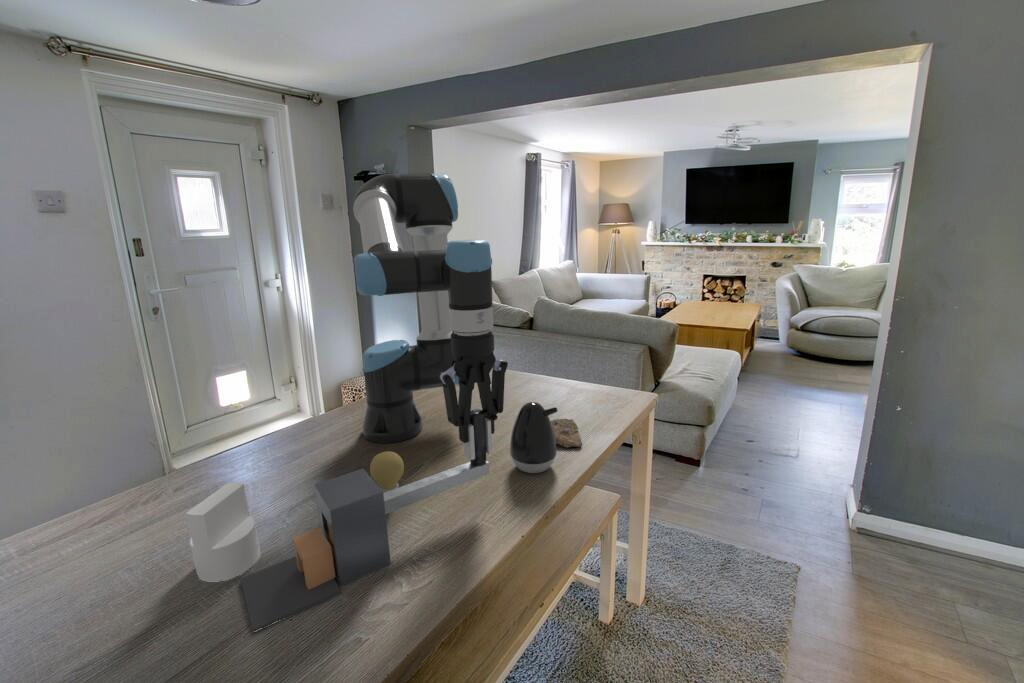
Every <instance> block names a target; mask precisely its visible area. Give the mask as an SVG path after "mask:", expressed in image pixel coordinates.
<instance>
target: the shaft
mask: <svg viewBox="0 0 1024 683" xmlns="http://www.w3.org/2000/svg"><path fill="white" fill-rule="evenodd" d="M470 424H471V425H473V426H474V445H475V459H473V460H471V459H470V458H469V462H465V463H463V464H461V465H457V466H454V467H452V468H449V469H447V470H444V471H441V472H437V473H435V474H433V475H430V476H427V477H424V478H422V479H419V480H416V481H414V482H409V483H408V484H404V485H402V486H399V488H396V489H393V490H391V491H388V492H385V493H383V495H384V504H385V514H386V515H387V514H390V513H392V512H394V511H398V510H400V509H402V508H405V507H408V506H411V505H413V504H415V503H418V502H420V501H424V500H426V499H429V498H431V497H434V496H436V495H438V494H441V493H444V492H446V491H449V490H451V489H454V488H457V487H459V486H462V485H464V484H467V483H469V482H472V481H475V480H477V479H480V478H483V477H484V476H488V475H490V462H489V461H488V460H487V452H486V437H485V414H484V411H483V410H482V409H478V408H477V409H476V408H475V409H471V412H470ZM327 527H328V522H327Z"/></svg>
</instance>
